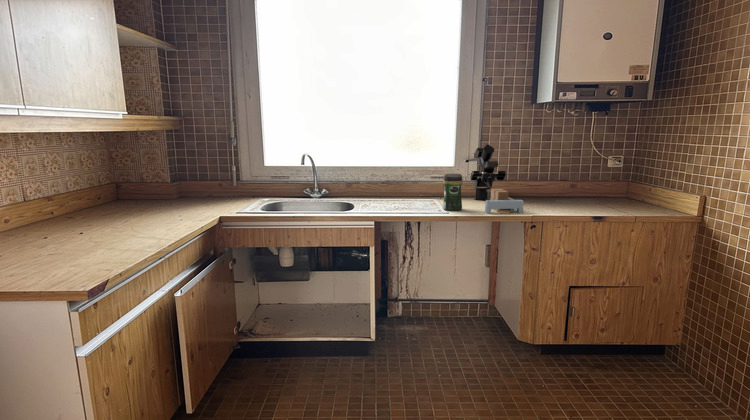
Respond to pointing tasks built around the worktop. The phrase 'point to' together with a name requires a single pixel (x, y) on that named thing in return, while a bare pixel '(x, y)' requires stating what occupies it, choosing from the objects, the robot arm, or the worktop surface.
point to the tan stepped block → (499, 198)
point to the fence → (504, 205)
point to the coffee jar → (452, 192)
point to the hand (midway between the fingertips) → (490, 187)
